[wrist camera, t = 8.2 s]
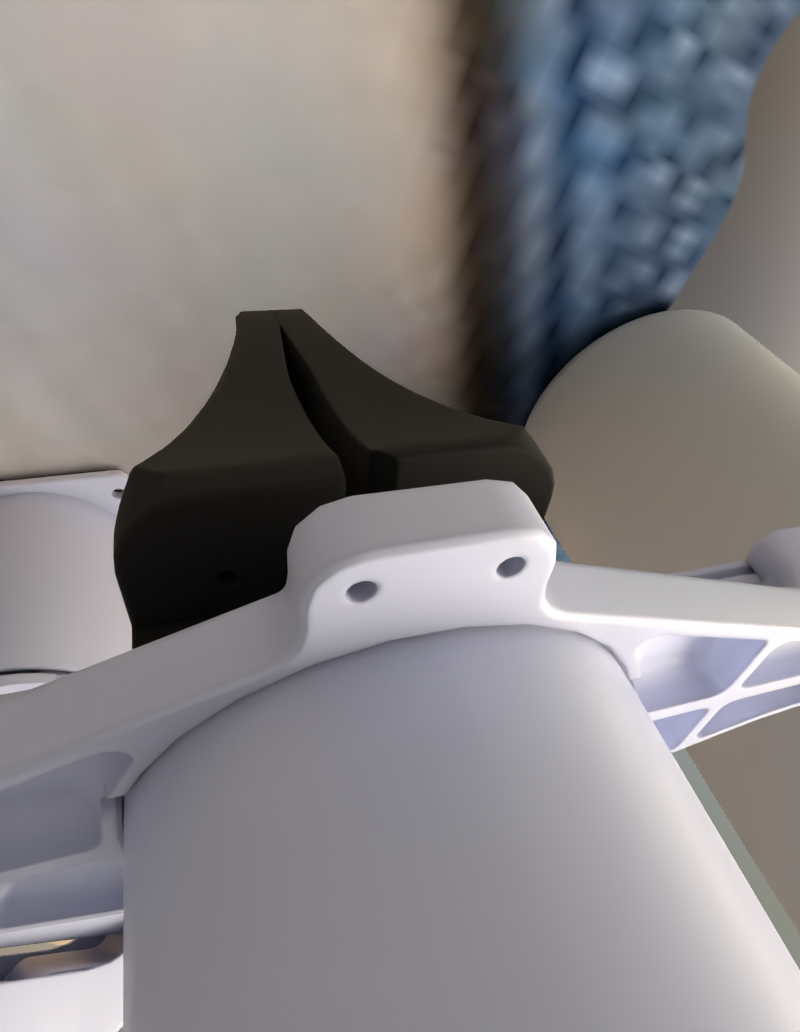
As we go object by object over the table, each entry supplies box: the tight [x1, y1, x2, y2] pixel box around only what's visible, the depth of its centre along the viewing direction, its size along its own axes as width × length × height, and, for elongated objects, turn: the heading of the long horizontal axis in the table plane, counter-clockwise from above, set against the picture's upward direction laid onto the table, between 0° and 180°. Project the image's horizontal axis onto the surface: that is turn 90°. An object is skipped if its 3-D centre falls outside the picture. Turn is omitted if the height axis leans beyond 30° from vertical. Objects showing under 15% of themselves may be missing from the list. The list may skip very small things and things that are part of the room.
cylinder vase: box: [525, 309, 800, 935], centre depth 25 cm, size 12×12×25 cm
